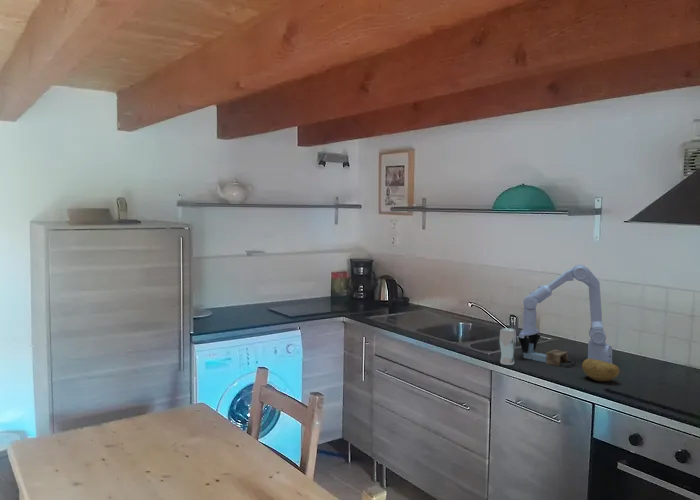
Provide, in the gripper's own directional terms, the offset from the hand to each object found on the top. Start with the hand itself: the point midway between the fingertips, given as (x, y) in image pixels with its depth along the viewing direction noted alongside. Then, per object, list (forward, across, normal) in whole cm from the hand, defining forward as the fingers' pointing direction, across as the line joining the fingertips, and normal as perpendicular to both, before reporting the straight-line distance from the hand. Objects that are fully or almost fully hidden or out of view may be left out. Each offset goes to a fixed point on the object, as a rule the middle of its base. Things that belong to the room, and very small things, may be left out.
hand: (528, 351), depth 264 cm
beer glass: (+3, +16, -2) cm, 16 cm away
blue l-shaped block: (+3, 0, +5) cm, 5 cm away
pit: (+3, 0, +18) cm, 19 cm away
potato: (+3, +12, +38) cm, 40 cm away
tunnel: (+3, 0, +14) cm, 14 cm away
